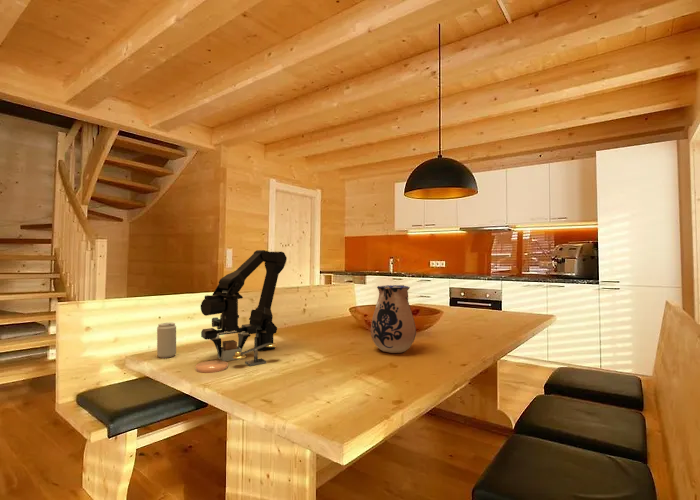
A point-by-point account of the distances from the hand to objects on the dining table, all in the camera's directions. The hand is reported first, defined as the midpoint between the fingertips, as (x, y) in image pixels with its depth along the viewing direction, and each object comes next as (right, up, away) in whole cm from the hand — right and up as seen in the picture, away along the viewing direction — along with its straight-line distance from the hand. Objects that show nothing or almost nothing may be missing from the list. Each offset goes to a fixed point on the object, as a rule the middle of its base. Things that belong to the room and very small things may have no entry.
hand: (229, 355), depth 146 cm
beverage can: (-24, -1, +3) cm, 24 cm away
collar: (0, -1, 0) cm, 1 cm away
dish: (-2, -1, -13) cm, 13 cm away
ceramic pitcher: (+61, -1, +13) cm, 62 cm away
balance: (+11, -1, -7) cm, 13 cm away
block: (0, -1, 0) cm, 1 cm away
